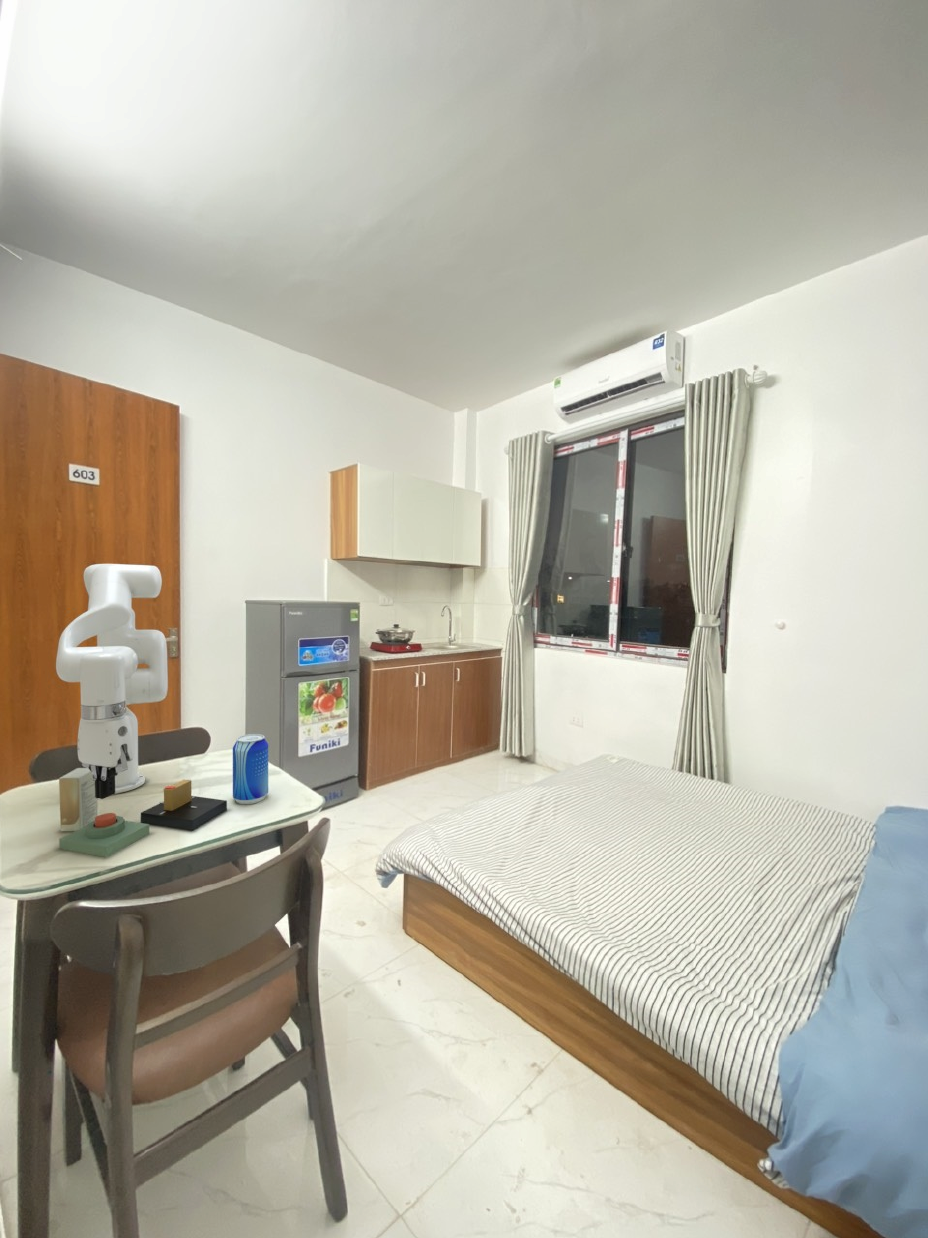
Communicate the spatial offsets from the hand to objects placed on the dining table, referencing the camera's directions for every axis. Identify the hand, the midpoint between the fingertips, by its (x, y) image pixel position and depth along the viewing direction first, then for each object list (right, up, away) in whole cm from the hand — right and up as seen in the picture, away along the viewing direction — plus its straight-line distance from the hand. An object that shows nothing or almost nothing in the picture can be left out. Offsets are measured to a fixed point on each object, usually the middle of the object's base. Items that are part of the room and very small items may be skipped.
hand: (105, 795), depth 104 cm
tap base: (+10, -9, +12) cm, 18 cm away
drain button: (0, -6, 0) cm, 6 cm away
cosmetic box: (-11, -9, +7) cm, 16 cm away
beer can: (+21, -9, +23) cm, 32 cm away
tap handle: (+8, -7, +12) cm, 16 cm away
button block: (0, -10, 0) cm, 10 cm away
